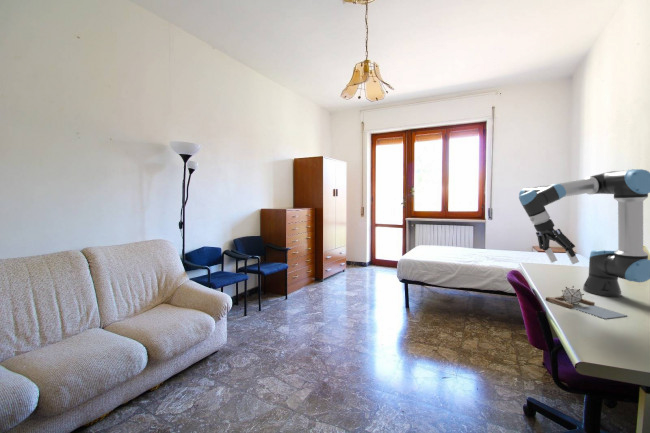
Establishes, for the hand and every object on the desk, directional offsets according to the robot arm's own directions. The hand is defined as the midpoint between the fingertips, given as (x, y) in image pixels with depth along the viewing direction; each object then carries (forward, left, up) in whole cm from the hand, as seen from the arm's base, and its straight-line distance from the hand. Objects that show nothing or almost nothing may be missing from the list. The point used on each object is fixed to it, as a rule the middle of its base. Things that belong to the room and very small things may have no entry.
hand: (564, 262), depth 142 cm
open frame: (-5, 0, -20) cm, 21 cm away
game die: (-5, +1, -20) cm, 21 cm away
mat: (-5, +12, -20) cm, 24 cm away
